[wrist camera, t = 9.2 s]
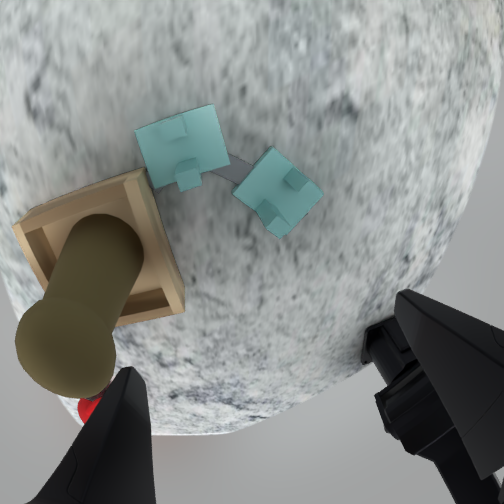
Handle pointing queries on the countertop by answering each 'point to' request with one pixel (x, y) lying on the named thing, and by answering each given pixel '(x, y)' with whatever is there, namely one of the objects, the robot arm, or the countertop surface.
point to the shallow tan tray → (130, 211)
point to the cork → (81, 308)
